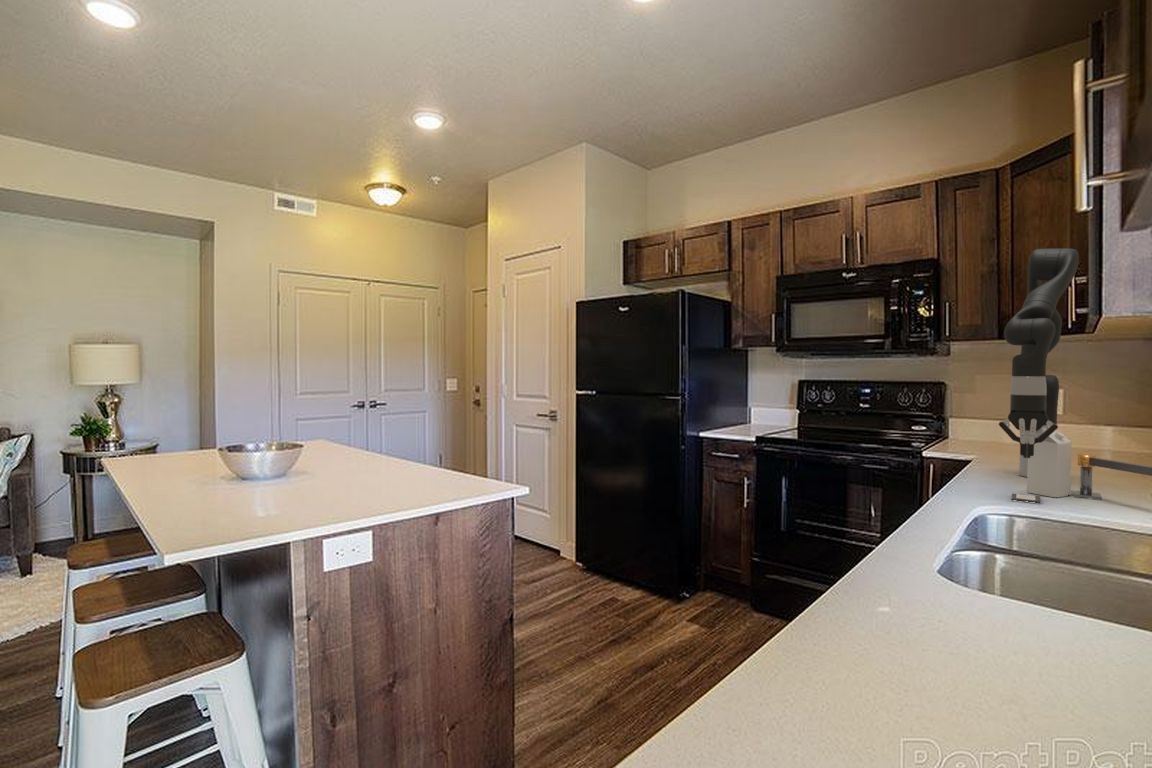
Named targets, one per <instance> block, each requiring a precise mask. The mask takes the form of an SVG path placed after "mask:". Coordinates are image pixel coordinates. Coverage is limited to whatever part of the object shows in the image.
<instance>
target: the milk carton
mask: <svg viewBox="0 0 1152 768" xmlns="http://www.w3.org/2000/svg"><path fill="white" fill-rule="evenodd" d="M1046 430H1047V429H1046V427H1043V428H1042V432H1041V433H1039V434H1037V435H1036V436H1035V438H1038V437H1039V436H1040V435H1041V434H1042V433H1044V432H1045V431H1046ZM1071 473H1072V441H1071V440H1070V439H1069V438H1067V437H1066V435H1064V433H1062V432H1061V431H1059V430H1058V428H1057V429H1056V430H1055V431H1054V432H1053V433H1052V434H1050V435H1049V436H1048V437H1047V438H1046V439H1045V440H1044V441H1043V442H1041V443H1035V444H1034V455H1033V456H1030V458H1028V469H1027V477H1026V478H1027V479H1026V493H1027V492H1028V493H1027V494H1032V495H1037V496H1044V497H1045V496H1046V497H1051V498H1056V497H1057V498H1061V497H1067V496H1068V495H1069V496H1071V484H1072V483H1071V481H1072V480H1071V479H1072V475H1071Z"/></svg>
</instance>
